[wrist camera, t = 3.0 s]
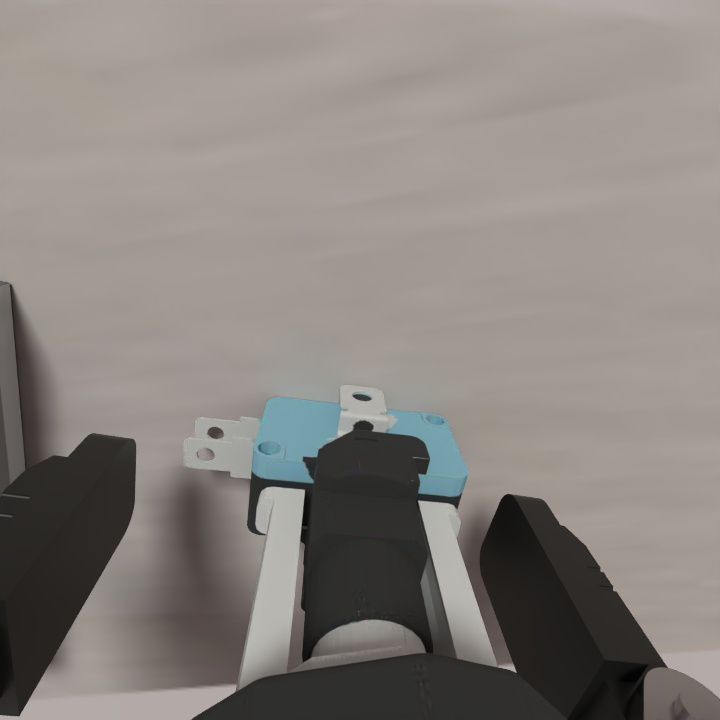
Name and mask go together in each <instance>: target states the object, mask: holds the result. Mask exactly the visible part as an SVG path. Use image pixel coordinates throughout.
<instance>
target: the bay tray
mask: <svg viewBox="0 0 720 720" xmlns="http://www.w3.org/2000/svg"><path fill="white" fill-rule="evenodd" d="M25 470H26V469H25V457H24V446H23V434H22V422H21V411H20V399H19V388H18V376H17V364H16V353H15V341H14V329H13V318H12V306H11V295H10V283H7V282H1V281H0V496H1V495H2V492H3V491H4V490H5V489H6V488H7V487H8V486H9V485H10V484H11V483H12V482H13V481H14V480H15V479H16V478H17V477H18V476H19V475H20V474H21V473H22V472H23V471H25Z"/></svg>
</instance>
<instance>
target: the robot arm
mask: <svg viewBox="0 0 720 720" xmlns="http://www.w3.org/2000/svg"><path fill="white" fill-rule="evenodd" d="M135 475H136V443H135V441H134V440H133V439H130V438H123V437H116V436H109V435H102V434H95V433H92V434H90V435H88V436H87V437H86V438H85V439H84V440H83V441H82V442H81V443H80V444H79V446H78V447H77V448H76V449H75V450H74V451H73V452H72V453H71V454H70V455H69V456H68V457H62V456H55V455H54V456H52V457H50V458H48V459H46V460H44V461H42V462H40V463H38V464H36V465H35V466H33V467H31V468H29V469H27V470H25V471H23V472H22V473H21V474H20V475H19V476H18V477H17V478H16V479H15V480H14V481H13V482H12V483H11V484H10V485H9V486H8V487H7V488H6V489H5V490H4V491H3V492H2V495H1V496H0V715H7V716H20V714H21V712H22V711H23V709H24V707H25V705H26V704H27V702H28V700H29V698H30V697H31V695H32V693H33V692H34V690H35V688H36V686H37V685H38V683H39V681H40V679H41V678H42V676H43V674H44V673H45V671H46V669H47V667H48V666H49V664H50V662H51V660H52V659H53V657H54V655H55V654H56V652H57V650H58V648H59V647H60V645H61V643H62V641H63V640H64V638H65V636H66V635H67V633H68V631H69V629H70V628H71V626H72V624H73V622H74V621H75V619H76V617H77V615H78V614H79V612H80V610H81V609H82V607H83V605H84V603H85V602H86V600H87V598H88V596H89V595H90V593H91V591H92V590H93V588H94V586H95V584H96V583H97V581H98V579H99V577H100V576H101V574H102V572H103V571H104V569H105V567H106V565H107V564H108V562H109V560H110V558H111V557H112V555H113V553H114V552H115V550H116V548H117V546H118V545H119V543H120V541H121V539H122V538H123V536H124V534H125V532H126V530H127V528H128V526H129V523H130V520H131V517H132V513H133V509H134V503H135ZM480 571H481V575H482V578H483V581H484V584H485V587H486V589H487V592H488V595H489V598H490V600H491V603H492V606H493V609H494V611H495V614H496V617H497V620H498V622H499V625H500V628H501V631H502V633H503V636H504V639H505V642H506V644H507V647H508V650H509V653H510V655H511V658H512V661H513V663H514V666H515V669H516V671H517V674H518V675H519V676H521V677H522V678H523V679H524V680H525V681H526V682H527V683H528V684H530V685H531V686H532V687H533V688H534V689H535V690H536V691H537V692H538V693H539V694H540V695H542V696H543V697H544V698H545V699H546V700H547V701H548V702H549V703H550V704H551V705H552V706H554V707H555V708H556V709H557V710H558V711H559V712H560V713H561V714H562V715H563V716H564V717H565V718H567V719H568V720H720V699H719V698H718V697H717V696H716V695H715V694H714V693H713V692H711V691H710V690H709V689H708V688H706V687H705V686H704V685H702V684H701V683H699V682H698V681H696V680H695V679H693V678H691V677H689V676H688V675H686V674H684V673H681V672H679V671H676V670H673V669H670V668H668V667H667V666H666V665H665V663H664V662H663V660H662V659H661V657H660V656H659V654H658V653H657V651H656V650H655V648H654V647H653V645H652V644H651V642H650V641H649V639H648V638H647V636H646V635H645V633H644V632H643V630H642V629H641V627H640V626H639V624H638V623H637V621H636V620H635V619H634V617H633V616H632V614H631V613H630V611H629V610H628V608H627V607H626V605H625V604H624V602H623V601H622V599H621V598H620V596H619V595H618V593H617V592H615V591H613V586H612V584H611V583H610V581H609V580H608V578H607V577H606V575H605V574H604V572H601V571H600V566H599V565H598V563H597V562H596V560H595V559H594V558H593V556H592V555H591V553H590V552H589V550H588V549H587V547H586V546H585V545H584V544H583V543H582V542H581V541H580V540H579V539H578V538H577V537H576V536H575V535H573V534H572V533H571V532H570V531H569V530H568V529H567V528H566V527H565V526H561V525H560V524H559V522H558V521H557V519H556V518H555V516H554V514H553V513H552V511H551V510H550V508H549V507H548V505H547V504H546V502H545V501H544V500H542V499H539V498H532V497H525V496H518V495H511V494H507V495H505V496H504V497H503V498H502V499H501V501H500V503H499V506H498V508H497V510H496V513H495V515H494V518H493V520H492V522H491V525H490V527H489V529H488V532H487V534H486V537H485V539H484V541H483V544H482V547H481V551H480Z"/></svg>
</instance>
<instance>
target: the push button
mask: <svg viewBox="0 0 720 720" xmlns="http://www.w3.org/2000/svg"><path fill="white" fill-rule="evenodd" d="M356 394H362V395H366V396H369V397H370V398H371V399H372V400H370V401H360V400H357V399H355V398H354V397H353V395H356ZM211 427H218V428H220V429H222V430H223V432H224V436H223V437H222V438H220V439H213V438H211V437H210V436H209V434H208V429H209V428H211ZM201 448H208V449H211V450H212V451H213V452H214V454H215V457H214V459H212V460H210V461H205V460H202V459H201V458H199V456H198V450H199V449H201ZM183 464H184V465H185V466H186V467H188V468H198V469H209V470H219V471H229V472H231V473H230V477H238V478H248V479H251V483H250V496H249V509H248V521H247V526H248V529H249V530H250V531H251V532H252V533H254V534H258V535H266V537H265V543H264V548H263V553H262V558H261V563H260V568H259V574H258V579H257V584H256V589H255V594H254V599H253V605H252V610H251V615H250V620H249V625H248V630H247V636H246V641H245V646H244V651H243V656H242V661H241V667H240V672H239V677H238V682H237V687H236V692H235V693H233V694H232V695H230V696H229V697H227V698H225V699H224V700H222V701H220V702H219V703H217V704H215V705H214V706H212V707H211V708H209V709H207V710H205V711H204V712H202V713H201V714H199V715H197V716H196V717H194V718H193V719H192V720H568V719H567V718H565V717H564V716H563V715H562V714H561V713H560V712H559V711H558V710H557V709H556V708H555V707H554V706H552V705H551V704H550V703H549V702H548V701H547V700H546V699H545V698H544V697H543V696H542V695H540V694H539V693H538V692H537V691H536V690H535V689H534V688H533V687H532V686H531V685H530V684H528V683H527V682H526V681H525V680H524V679H523V678H522V677H521V676H519V675H518V674H517V673H515V672H513V671H510V670H507V669H503V668H498V666H497V663H496V660H495V656H494V653H493V650H492V647H491V644H490V641H489V638H488V635H487V632H486V629H485V626H484V623H483V620H482V617H481V614H480V610H479V607H478V604H477V601H476V598H475V595H474V592H473V589H472V586H471V583H470V580H469V577H468V574H467V571H466V568H465V564H464V561H463V558H462V555H461V552H460V549H459V546H458V543H457V540H456V539H457V536H458V532H459V529H460V526H461V520H460V518H459V515H458V512H457V508H458V505H459V502H460V499H461V495H462V492H463V489H464V486H465V483H466V479H467V476H468V469H467V467H466V464H465V462H464V460H463V458H462V455H461V453H460V451H459V449H458V446H457V444H456V442H455V440H454V437H453V435H452V433H451V430H450V426H449V424H448V422H447V421H446V419H445V418H443V417H441V416H439V415H436V414H432V413H423V412H420V413H414V412H405V411H396V410H388V409H386V405H385V400H384V396H383V392H382V391H380V390H378V389H376V388H370V387H362V386H353V385H344V386H341V387H340V404H336V403H328V402H319V401H311V400H302V399H293V398H285V397H274V398H271V399H269V400H268V401H267V404H266V407H265V410H264V414H263V417H262V419H261V418H252V417H243V416H241V418H240V421H232V420H223V419H214V418H205V417H199V418H197V419H196V421H195V438H191V437H188V438H187V439H185V440H184V442H183ZM300 541H301V542H302V543H304V544H305V550H304V562H303V565H304V575H303V587H302V600H301V608H302V609H303V610H304V611H305V622H304V637H303V651H302V658H303V663H302V664H300V665H299V666H297V667H295V668H294V669H292V670H290V671H289V672H287V668H288V658H289V648H290V637H291V627H292V617H293V607H294V597H295V587H296V577H297V567H298V557H299V546H300Z"/></svg>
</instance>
